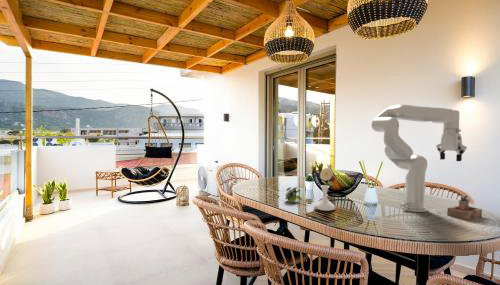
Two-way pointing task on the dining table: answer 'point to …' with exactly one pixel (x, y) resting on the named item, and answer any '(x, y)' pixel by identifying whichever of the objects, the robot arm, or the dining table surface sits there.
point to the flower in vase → (325, 191)
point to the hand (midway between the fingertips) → (450, 160)
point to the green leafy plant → (292, 194)
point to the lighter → (463, 203)
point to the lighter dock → (464, 213)
